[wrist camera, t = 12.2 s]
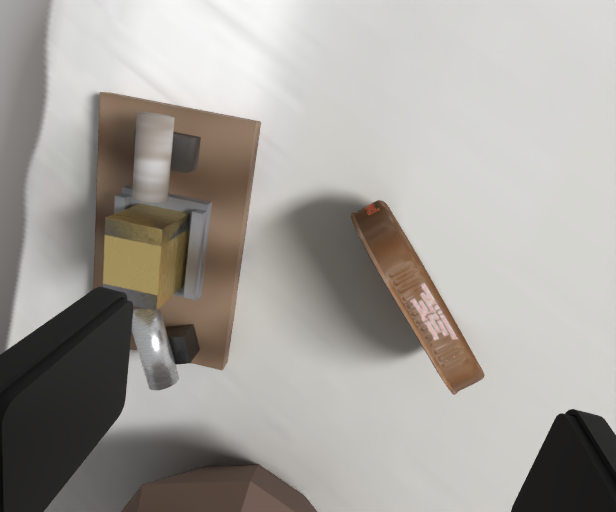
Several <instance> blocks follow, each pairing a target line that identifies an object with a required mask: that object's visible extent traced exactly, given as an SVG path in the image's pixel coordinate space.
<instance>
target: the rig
mask: <svg viewBox="0 0 616 512" xmlns="http://www.w3.org/2000/svg"><path fill="white" fill-rule="evenodd" d="M260 125H261V122H260V121H254V120H249V119H244V118H239V117H234V116H229V115H223V114H218V113H213V112H208V111H203V110H197V109H192V108H187V107H182V106H177V105H171V104H166V103H161V102H156V101H151V100H145V99H140V98H135V97H130V96H125V95H119V94H114V93H105V92H100V106H99V136H98V166H97V196H96V226H95V257H94V287H93V290H94V289H95V288H97V287H99V286H100V287H103V270H104V240H105V218H106V217H108V216H111V215H113V214H115V213H118V212H120V211H123V210H125V209H128V208H130V207H132V206H135V205H137V204H140V203H141V204H146V205H151V206H156V207H161V208H166V209H171V210H176V211H181V212H186V213H190V220H189V231H188V242H187V253H186V264H185V275H184V285H183V286H182V287H181V288H180V289H179V290H178V291H177V292H176V293H175V294H174V295H173V296H172V297H171V298H170V299H169V300H167V301H166V302H165V303H164V304H163V305H162V306H161V307H160V310H161V314H162V318H163V321H164V325H165V327H170V326H180V325H189V324H194V327H195V331H196V335H197V339H198V343H199V347H200V350H199V352H198V353H197V355H196V356H195V357H194V359H193V360H192V362H191V363H193V364H198V365H202V366H206V367H211V368H215V369H219V370H223V369H224V367H225V365H226V363H227V362H228V355H229V348H230V341H231V333H232V326H233V319H234V312H235V305H236V298H237V290H238V283H239V276H240V269H241V262H242V254H243V247H244V240H245V233H246V226H247V219H248V211H249V204H250V197H251V190H252V183H253V176H254V168H255V161H256V154H257V147H258V140H259V133H260ZM130 349H133V350H137V346H136V343H135V340H134V336H133V333H132V330H131V341H130Z"/></svg>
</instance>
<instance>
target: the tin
mask: <svg viewBox="0 0 616 512" xmlns="http://www.w3.org/2000/svg"><path fill="white" fill-rule="evenodd" d="M351 218H352V221H353V224H354V226H355V229H356V231H357V233H358V235H359V237H360V239H361V241H362V243H363V245H364V247H365V249H366V251H367V253H368V255H369V256H370V258H371V260H372V262H373V264H374V265H375V267H376V269H377V271H378V272H379V274H380V276H381V278H382V279H383V281H384V283H385V285H386V286H387V288H388V289H389V291H390V293H391V295H392V296H393V298H394V300H395V301H396V303H397V305H398V306H399V308H400V310H401V311H402V313H403V315H404V316H405V318H406V320H407V321H408V323H409V325H410V326H411V328H412V330H413V331H414V333H415V335H416V336H417V338H418V340H419V341H420V343H421V345H422V347H423V348H424V350H425V351H426V353H427V355H428V356H429V358H430V360H431V362H432V363H433V365H434V367H435V368H436V370H437V372H438V373H439V375H440V377H441V378H442V380H443V381H444V383H445V384H446V386H447V387H448V389H449V390H450V391H451V392H452V394H456V393H457V392H458V391H460V390H462V389H464V388H466V387H468V386H470V385H472V384H474V383H476V382H478V381H480V380H481V379H483V378H484V372H483V370H482V369H481V367H480V365H479V363H478V362H477V360H476V358H475V356H474V355H473V353H472V351H471V349H470V347H469V345H468V344H467V342H466V340H465V338H464V337H463V335H462V333H461V331H460V329H459V328H458V326H457V324H456V322H455V321H454V319H453V317H452V315H451V313H450V312H449V310H448V308H447V306H446V305H445V303H444V301H443V299H442V298H441V296H440V294H439V292H438V291H437V289H436V287H435V285H434V283H433V282H432V280H431V278H430V276H429V274H428V273H427V271H426V269H425V267H424V266H423V264H422V262H421V260H420V259H419V257H418V255H417V254H416V252H415V250H414V249H413V247H412V245H411V244H410V242H409V240H408V239H407V237H406V235H405V234H404V232H403V230H402V229H401V227H400V225H399V224H398V222H397V220H396V218H395V217H394V215H393V213H392V212H391V210H390V208H389V207H388V205H387V204H386V203H385V202H383V201H380V200H378V201H376V202H374V203H372V204H370V205H368V206H367V207H365V208H363V209H362V210H360V211H358V212H356V213H352V214H351Z"/></svg>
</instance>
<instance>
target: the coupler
mask: <svg viewBox="0 0 616 512" xmlns="http://www.w3.org/2000/svg"><path fill="white" fill-rule="evenodd" d="M189 220H190V213H186V212H181V211H176V210H171V209H166V208H161V207H156V206H151V205H146V204H141V203H140V204H137V205H135V206H132V207H130V208H128V209H125V210H123V211H120V212H118V213H115V214H113V215H111V216H108V217H106V218H105V240H104V270H103V287H105V288H108V289H112V290H116V291H120V292H124V293H125V294H126V295H127V300H129V301H132V302H133V306H137V307H141V308H146V309H150V310H155V311H157V310H158V309H159V308H160V307H161V306H162V305H163V304H164V303H165V302H166V301H167V300H169V299H170V298H171V297H172V296H173V295H174V294H175V293H176V292H177V291H178V290H179V289H180V288H181V287H182V286H183V285H184V275H185V264H186V253H187V242H188V231H189Z"/></svg>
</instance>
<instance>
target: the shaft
mask: <svg viewBox="0 0 616 512" xmlns="http://www.w3.org/2000/svg"><path fill="white" fill-rule="evenodd" d="M132 333H133V336H134V340H135V343H136V346H137V350H138V353H139V356H140V360H141V363H142V366H143V369H144V373H145V376H146V379H147V383H148V386H149V388H150V389H151V390H162V389H165V388H168V387H170V386H172V385H173V384H175V383H176V382H177V381H178V380H179V375H178V371H177V368H176V364H186V363H191V362H192V360H193V359H194V357H195V356H196V355H197V353H198V352H199V350H200V347H199V343H198V339H197V335H196V331H195V327H194V324H189V325H180V326H170V327H165V325H164V321H163V318H162V314H161V310H160V308H159V309H158V310H157V311H155V310H150V309H146V308H141V307H137V306H133V319H132Z"/></svg>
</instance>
